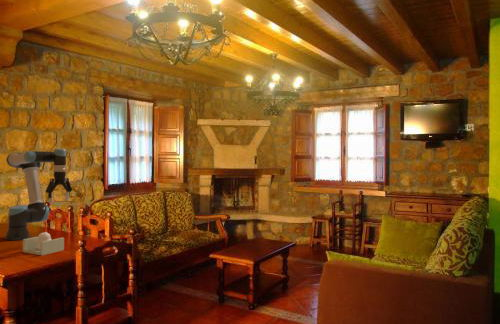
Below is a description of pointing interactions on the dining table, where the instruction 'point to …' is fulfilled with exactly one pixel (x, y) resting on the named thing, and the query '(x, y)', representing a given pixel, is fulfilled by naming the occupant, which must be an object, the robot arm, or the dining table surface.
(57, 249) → the beige open frame
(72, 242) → the dining table surface
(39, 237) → the figurine
